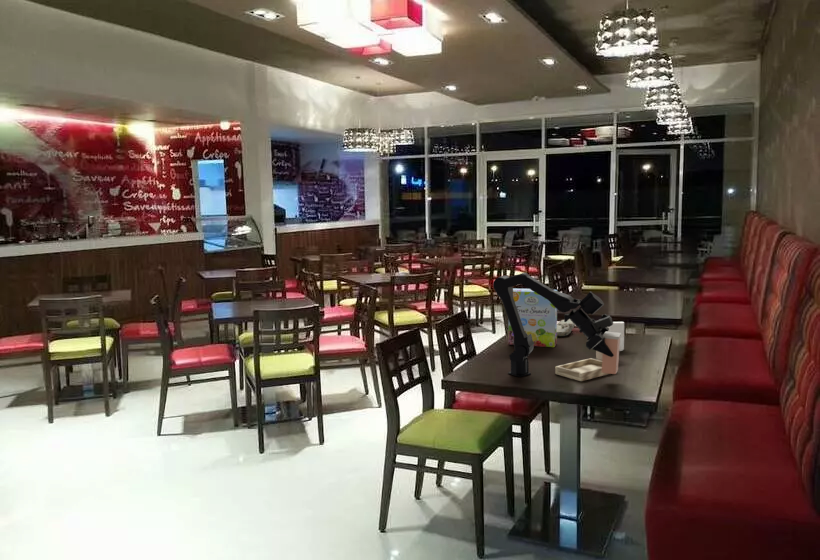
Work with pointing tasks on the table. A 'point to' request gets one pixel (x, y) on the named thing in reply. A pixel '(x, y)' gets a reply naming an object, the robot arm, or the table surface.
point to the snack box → (535, 318)
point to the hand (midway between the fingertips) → (614, 354)
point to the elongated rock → (564, 327)
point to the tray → (581, 369)
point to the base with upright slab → (618, 328)
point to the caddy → (613, 344)
